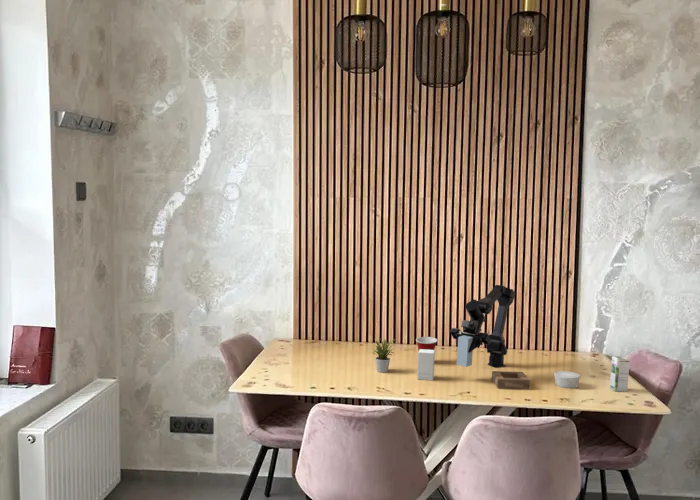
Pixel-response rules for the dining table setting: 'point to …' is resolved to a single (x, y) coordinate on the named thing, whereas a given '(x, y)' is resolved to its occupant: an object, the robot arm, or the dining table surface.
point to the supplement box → (426, 364)
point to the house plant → (383, 356)
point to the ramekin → (566, 379)
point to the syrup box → (619, 373)
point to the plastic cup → (426, 343)
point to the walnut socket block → (510, 380)
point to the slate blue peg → (464, 351)
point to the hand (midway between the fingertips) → (463, 351)
